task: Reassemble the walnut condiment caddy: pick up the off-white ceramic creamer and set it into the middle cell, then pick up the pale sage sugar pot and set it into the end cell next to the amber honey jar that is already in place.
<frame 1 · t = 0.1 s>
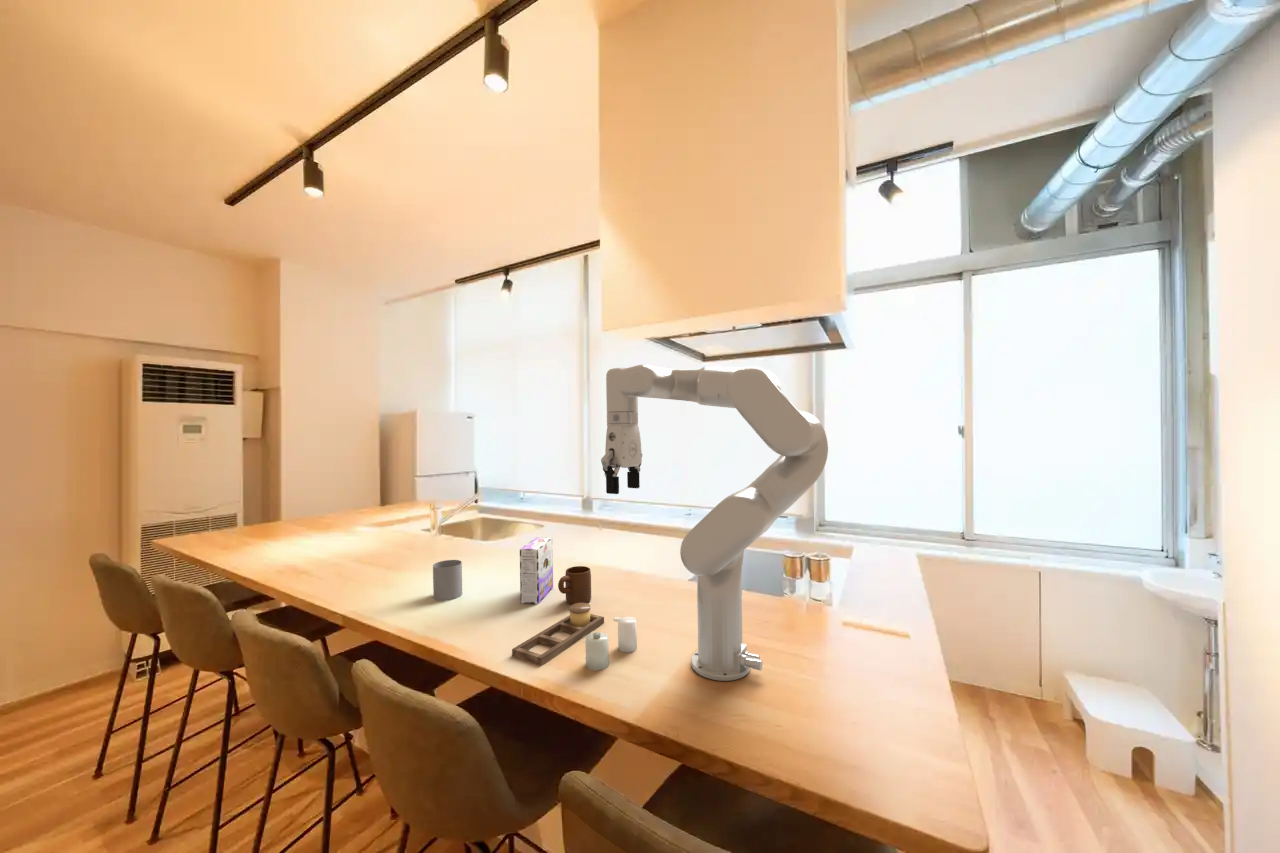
hand: (623, 490, 112), 37 cm above the worktop, tool pointing down, fingers open, 9 cm apart
caddy: (561, 638, 115), on the worktop
honey jar: (580, 626, 122), resting in caddy
candy box: (537, 596, 144), on the worktop
creamer: (627, 647, 110), on the worktop
cup: (448, 596, 145), on the worktop
sugar pot: (597, 664, 102), on the worktop
mug: (573, 604, 137), on the worktop
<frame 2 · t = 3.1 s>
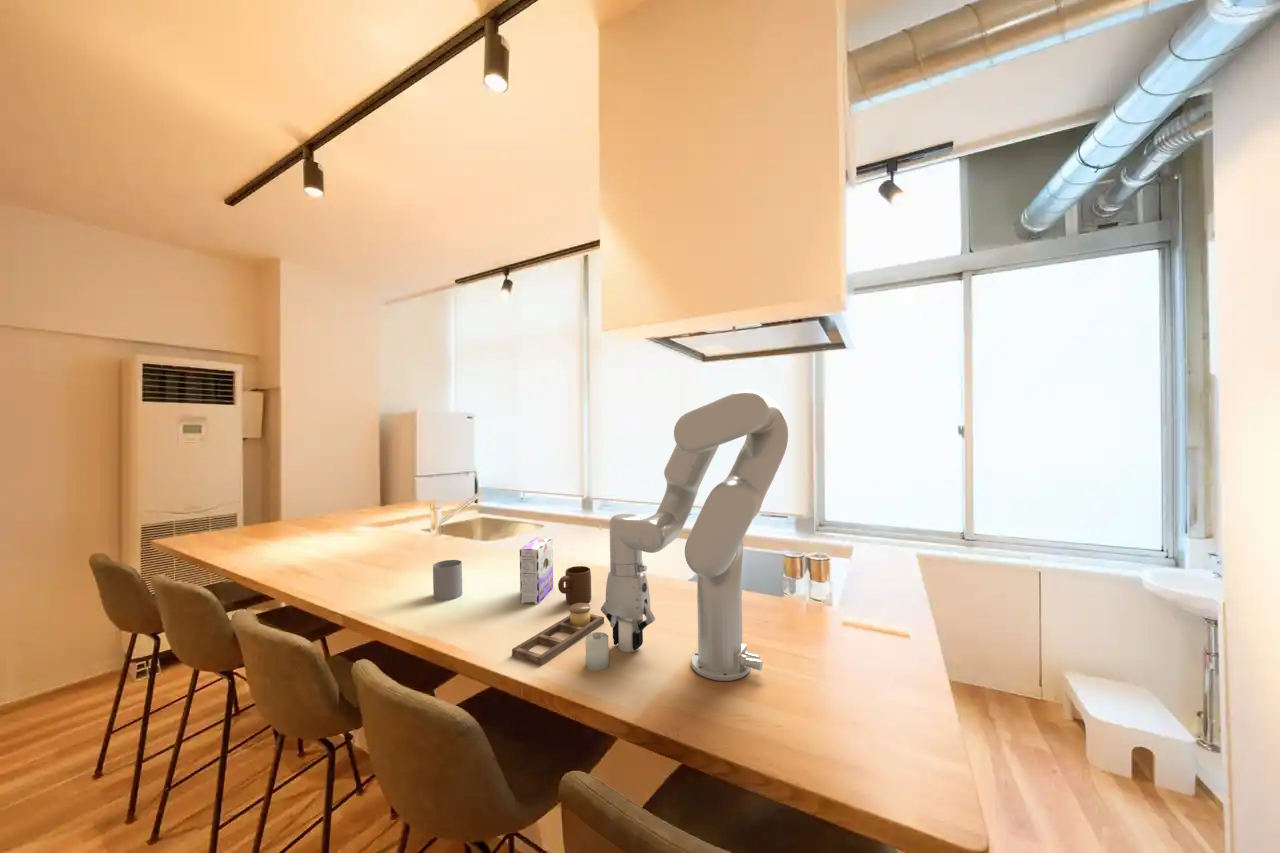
hand: (627, 644, 109), 1 cm above the worktop, tool pointing down, fingers closed on creamer, 4 cm apart
creamer: (627, 647, 110), on the worktop, touching gripper
everything else where it was.
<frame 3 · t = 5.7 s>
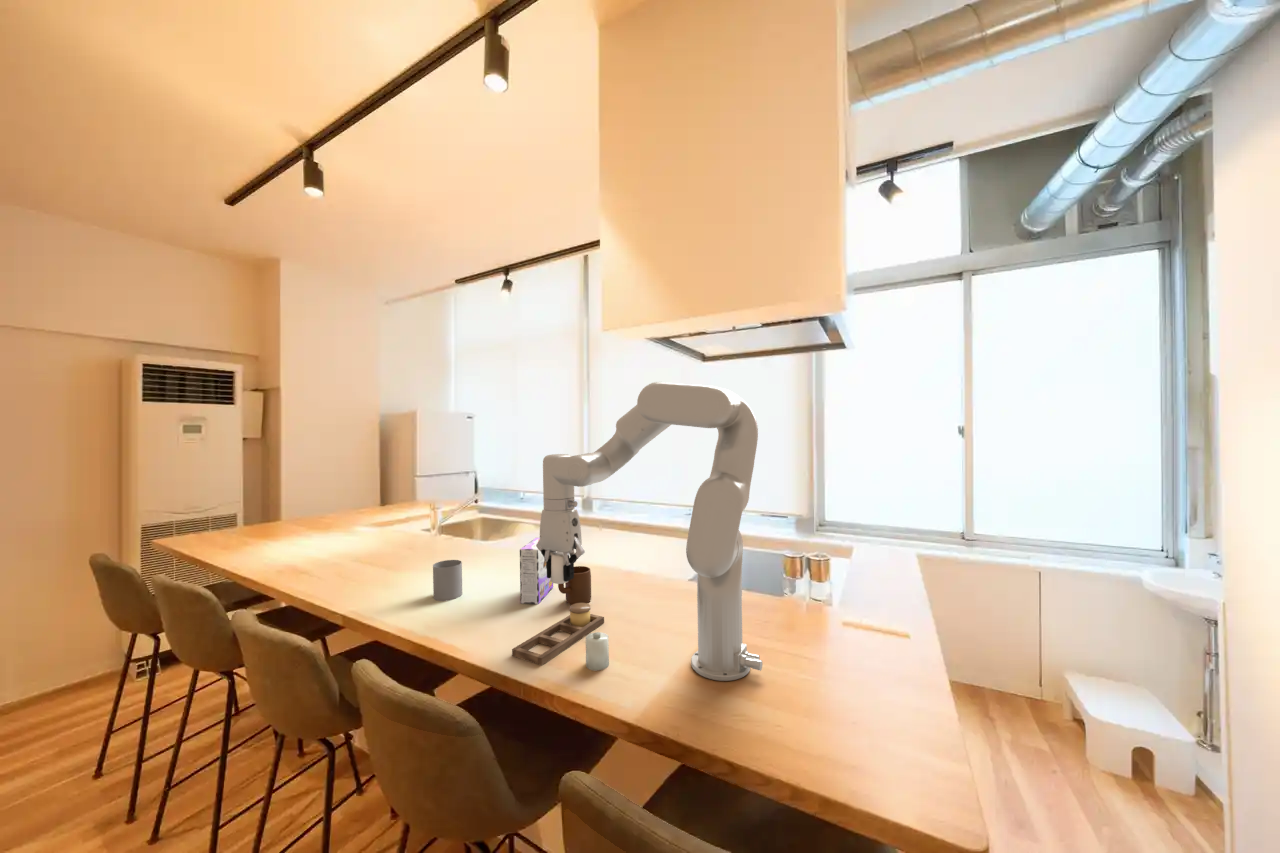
hand: (560, 577, 115), 15 cm above the worktop, tool pointing down, fingers closed on creamer, 4 cm apart
creamer: (560, 580, 115), point 14 cm above the worktop, touching gripper
everything else where it was.
when the fingers open (2 cm above the worktop, at t = 8.3 s): creamer drops 2 cm, resting in caddy.
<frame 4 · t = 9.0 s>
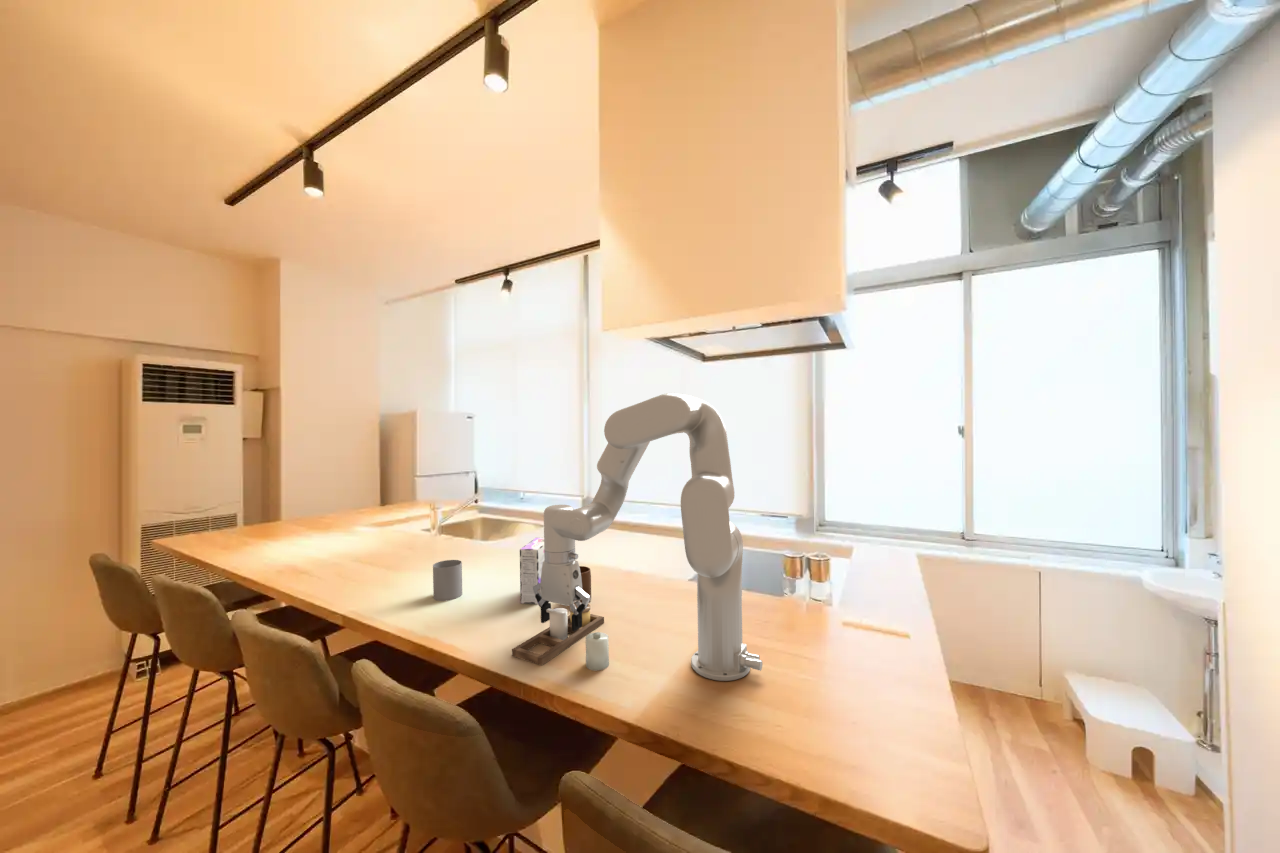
hand: (561, 624, 115), 3 cm above the worktop, tool pointing down, fingers open, 9 cm apart
creamer: (558, 637, 115), resting in caddy
everything else where it was.
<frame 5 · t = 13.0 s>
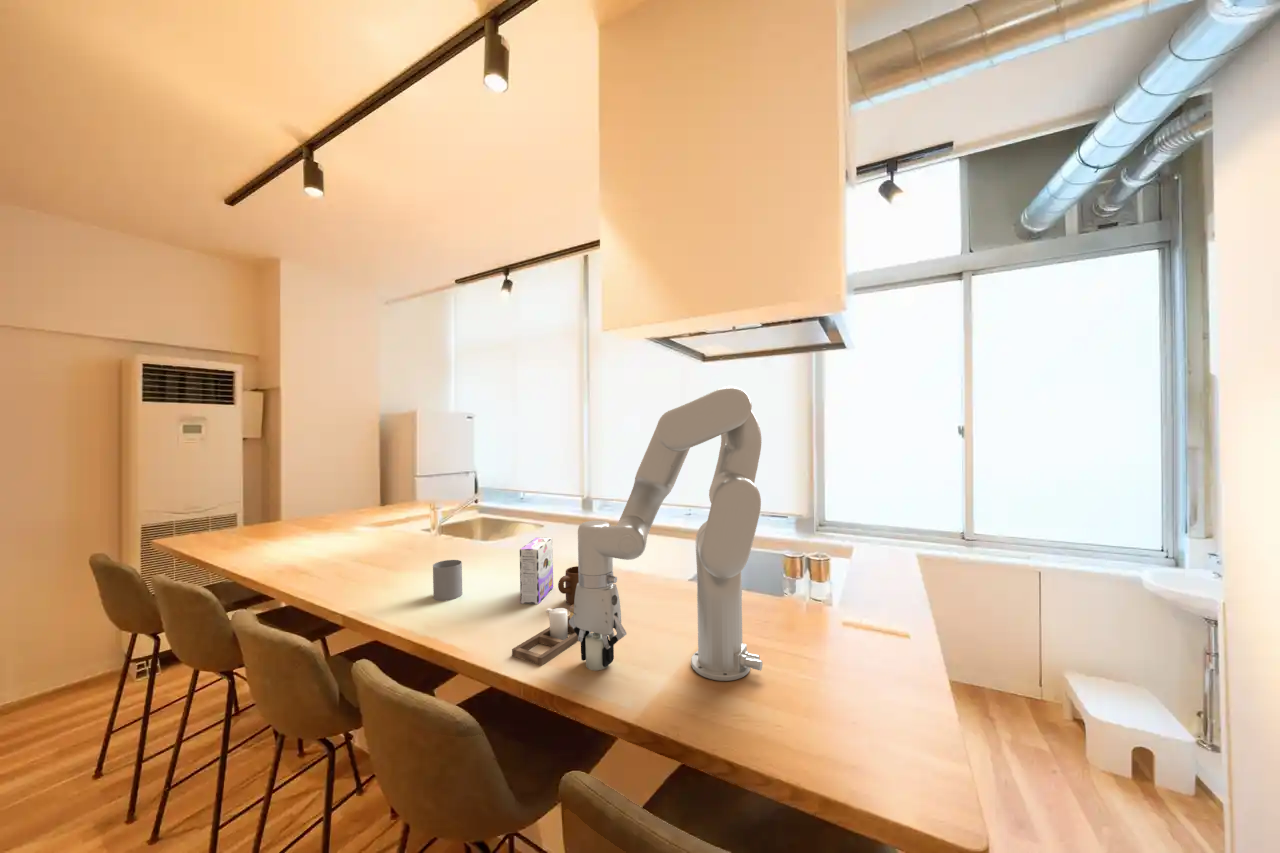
hand: (597, 660, 102), 1 cm above the worktop, tool pointing down, fingers closed on sugar pot, 5 cm apart
sugar pot: (597, 664, 102), on the worktop, touching gripper
everything else where it was.
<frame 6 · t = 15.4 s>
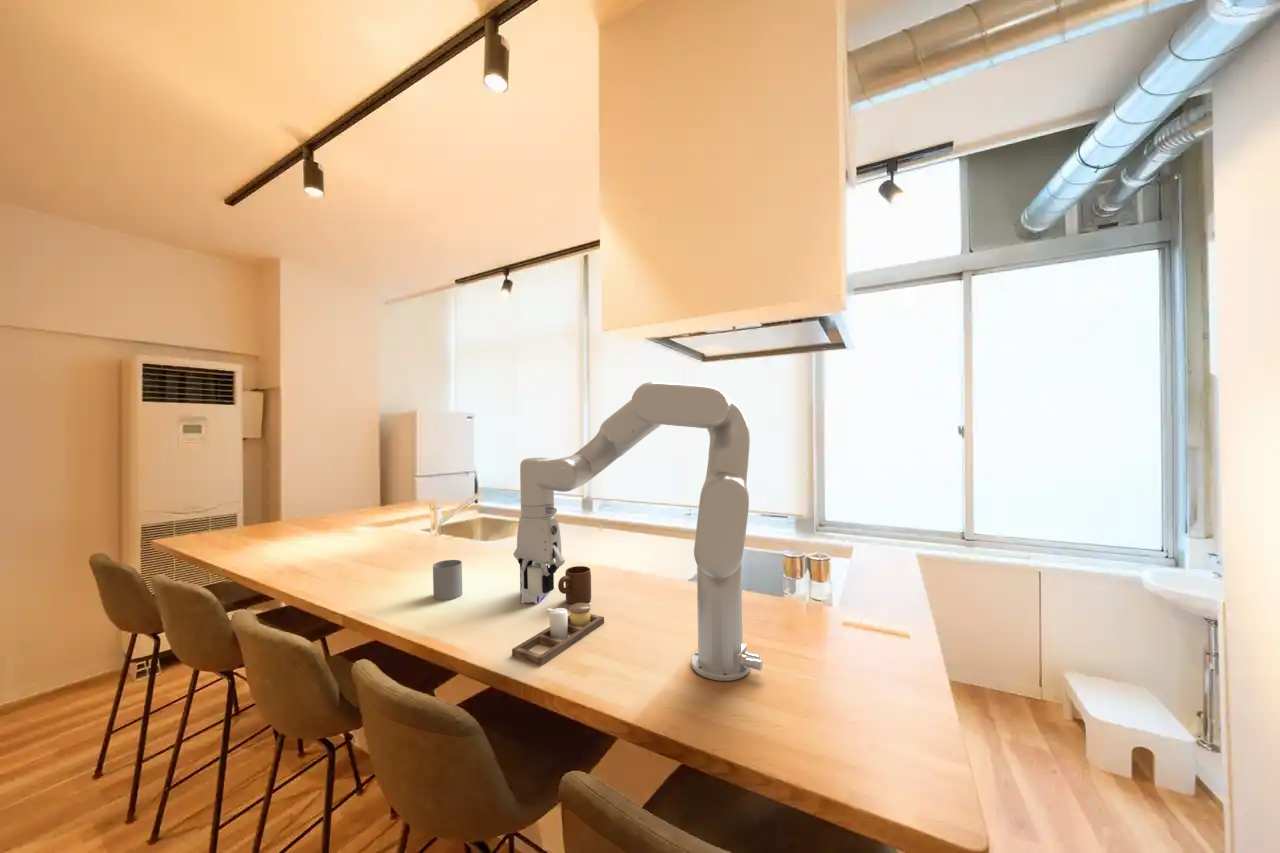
hand: (538, 588, 108), 15 cm above the worktop, tool pointing down, fingers closed on sugar pot, 5 cm apart
sugar pot: (538, 592, 108), point 14 cm above the worktop, touching gripper
everything else where it was.
when the fingers open (2 cm above the worktop, at t = 17.9 s): sugar pot drops 1 cm, resting in caddy.
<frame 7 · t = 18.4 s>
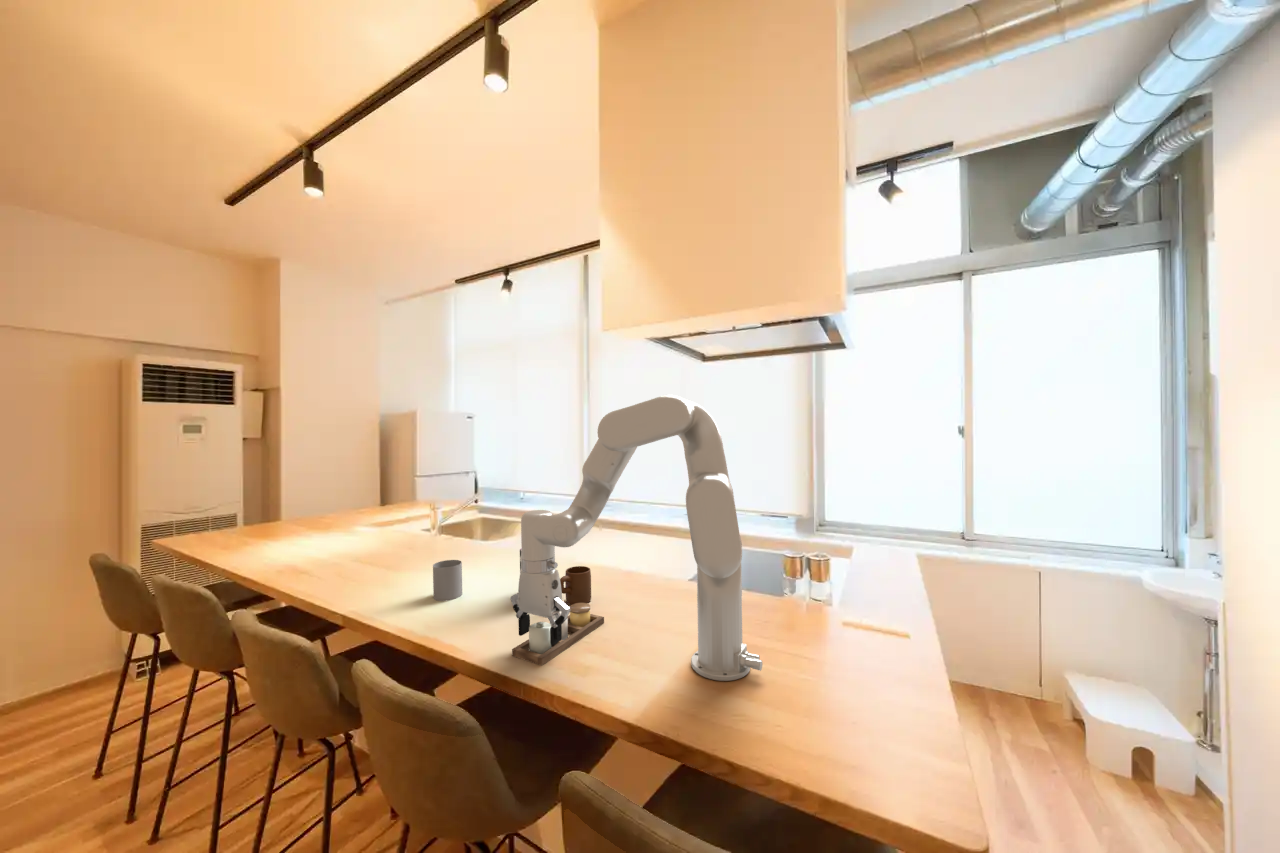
hand: (539, 637, 108), 3 cm above the worktop, tool pointing down, fingers open, 9 cm apart
sugar pot: (540, 652, 108), resting in caddy
everything else where it was.
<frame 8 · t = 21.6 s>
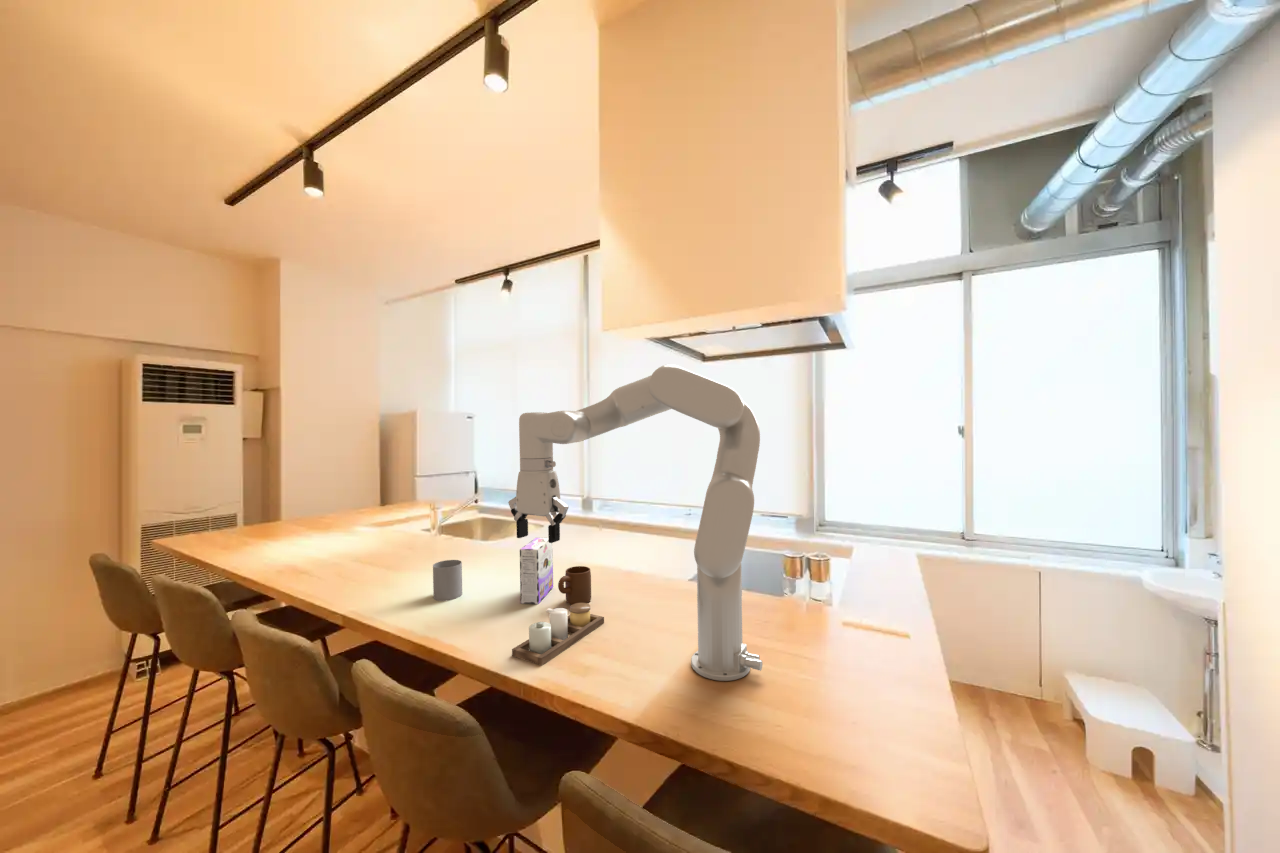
hand: (538, 539, 108), 26 cm above the worktop, tool pointing down, fingers open, 9 cm apart
nothing on the worktop moved.
at the end: creamer 0.8 cm from the target spot, resting in caddy; sugar pot 0.1 cm from the target spot, resting in caddy; sugar pot tilted 0° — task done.
